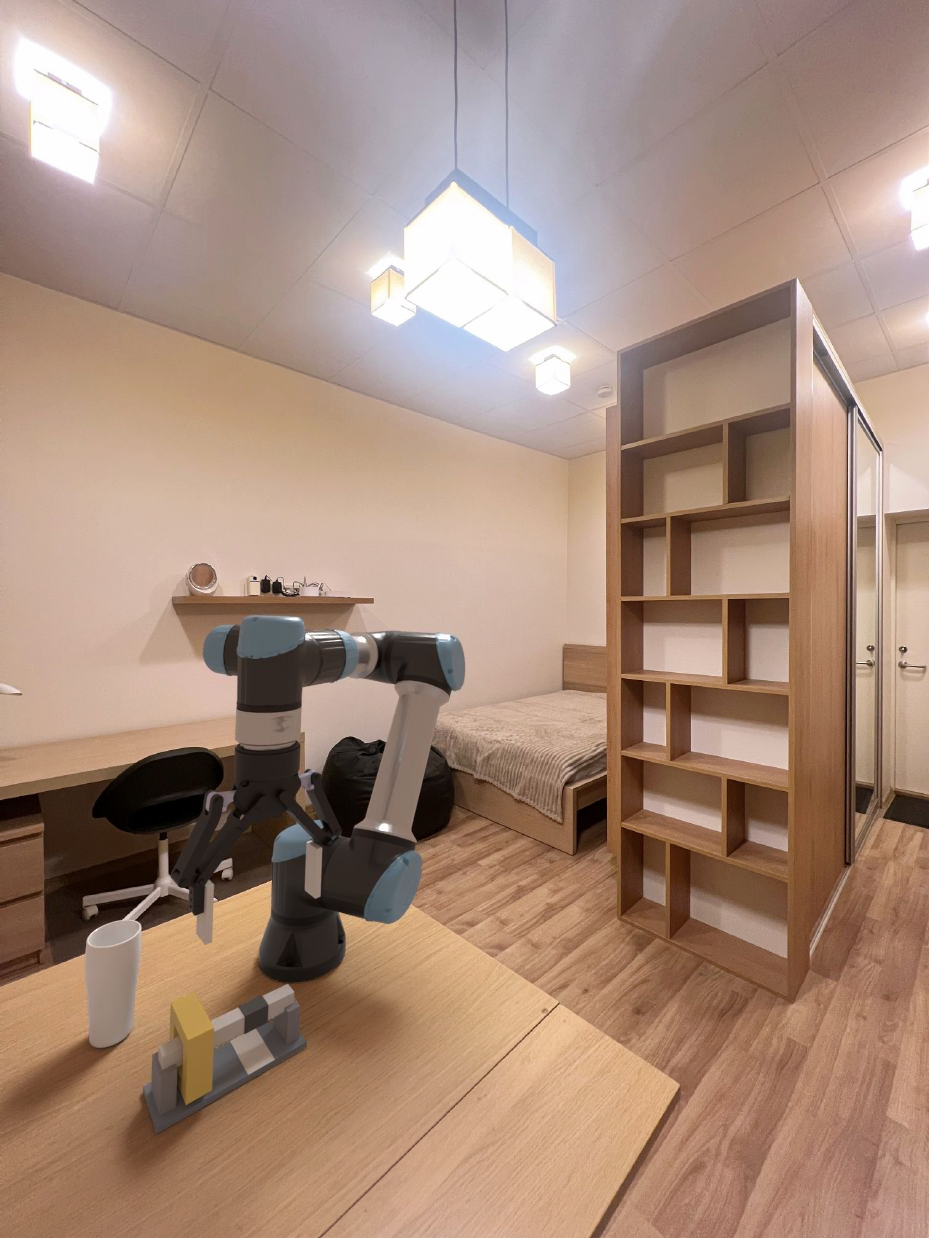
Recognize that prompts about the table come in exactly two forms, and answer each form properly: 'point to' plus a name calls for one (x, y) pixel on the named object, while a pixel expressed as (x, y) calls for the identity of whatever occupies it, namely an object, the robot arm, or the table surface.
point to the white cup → (112, 980)
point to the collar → (193, 1046)
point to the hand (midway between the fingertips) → (262, 914)
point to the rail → (228, 1054)
